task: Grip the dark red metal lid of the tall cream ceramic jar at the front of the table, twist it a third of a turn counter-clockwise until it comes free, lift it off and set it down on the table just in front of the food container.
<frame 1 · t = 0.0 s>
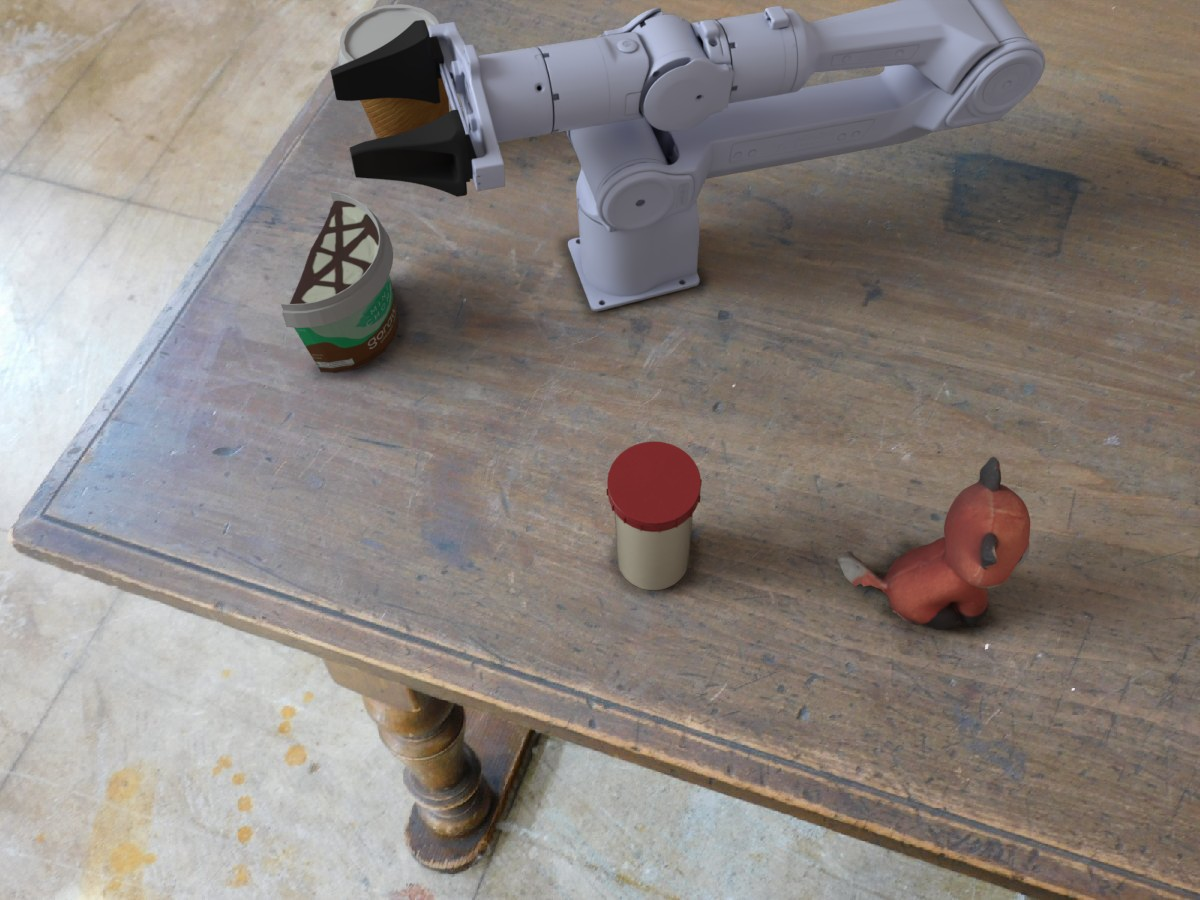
hand: (342, 123, 71), 22 cm above the table, tool horizontal, fingers open, 7 cm apart
jar: (653, 557, 78), on the table
food container: (374, 332, 89), on the table
stuffed fox: (913, 584, 76), on the table
lid: (654, 484, 68), point 11 cm above the table, screwed on, not yet turned
disposable coffee cup: (417, 147, 100), on the table
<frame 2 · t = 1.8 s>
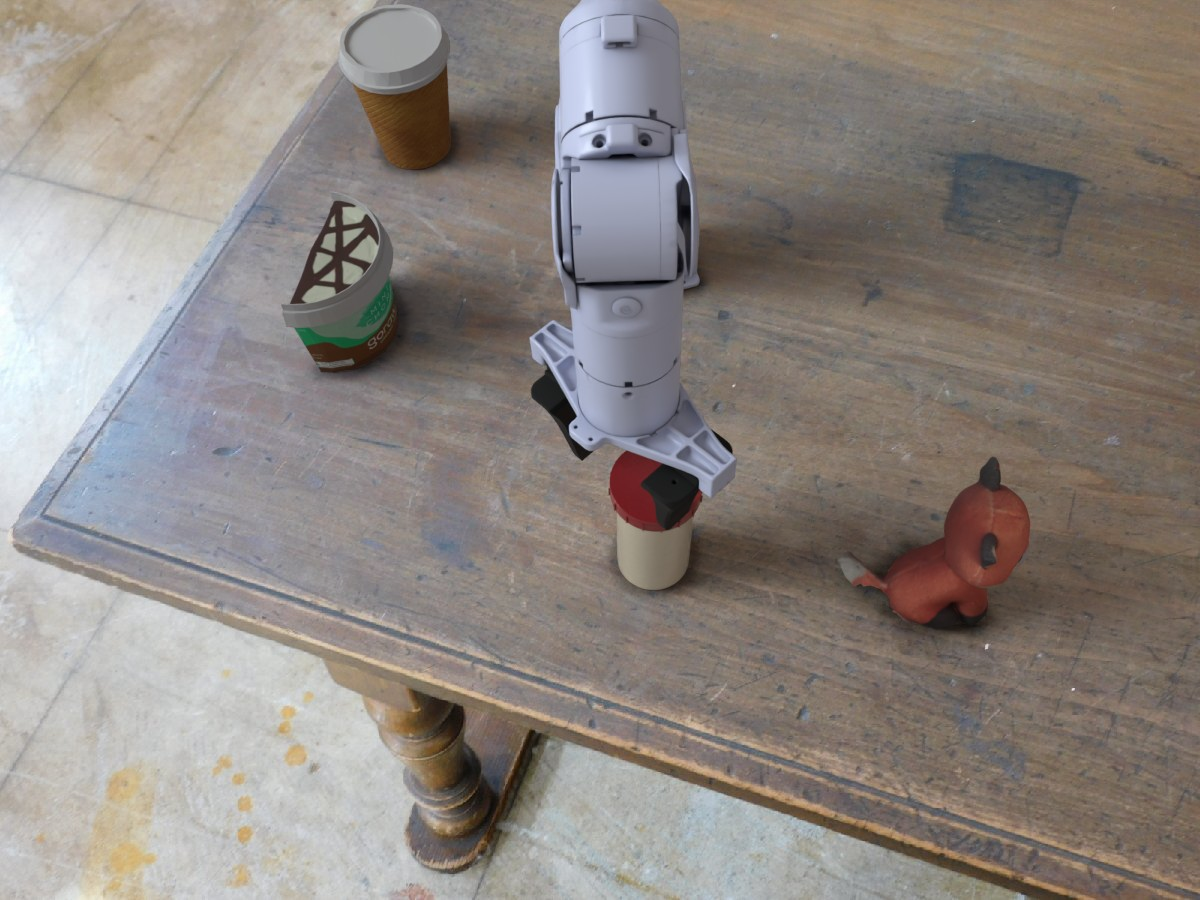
hand: (631, 482, 68), 11 cm above the table, tool pointing down, fingers open, 7 cm apart
lid: (656, 483, 68), point 11 cm above the table, screwed on, not yet turned, touching gripper
everything else where it was.
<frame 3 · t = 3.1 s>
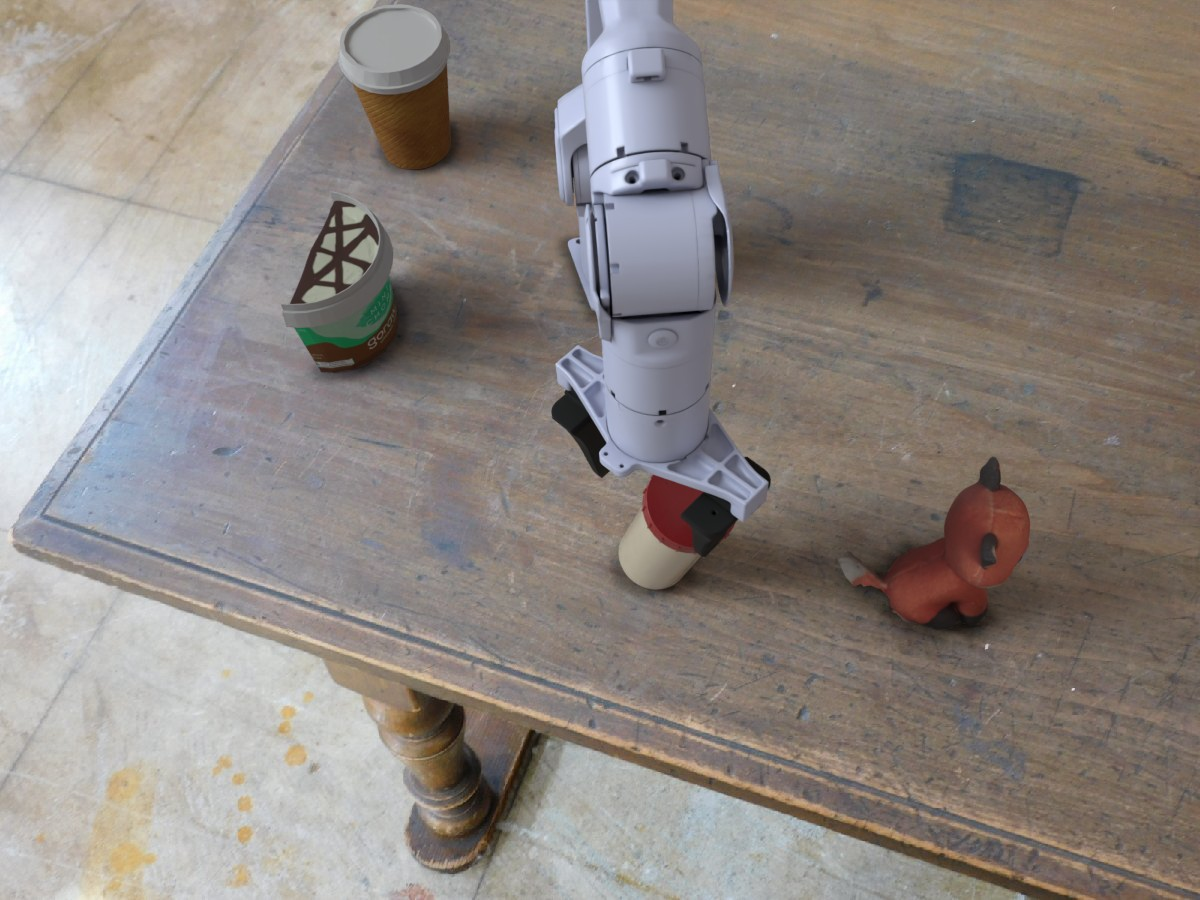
hand: (657, 503, 68), 10 cm above the table, tool pointing down, fingers open, 7 cm apart
jar: (653, 554, 77), point 1 cm above the table, tilted 14°, touching gripper
lid: (691, 503, 67), point 11 cm above the table, tilted 15°, screwed on, not yet turned, touching gripper
everything else where it was.
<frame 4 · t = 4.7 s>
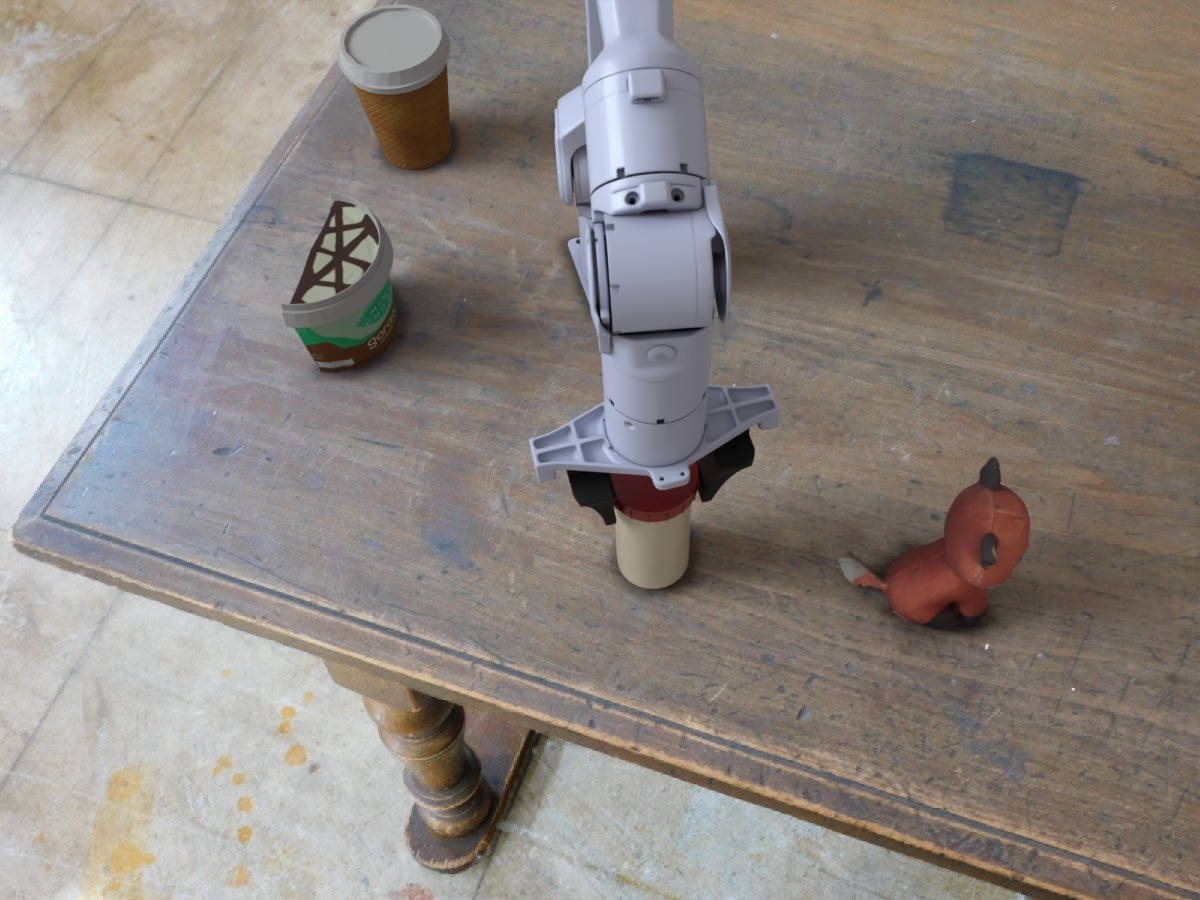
hand: (654, 500, 70), 9 cm above the table, tool pointing down, fingers closed on lid, 6 cm apart
jar: (652, 556, 78), on the table
lid: (651, 475, 68), point 11 cm above the table, turned 57° so far, risen 0.2 cm, still on its thread, touching gripper
everything else where it was.
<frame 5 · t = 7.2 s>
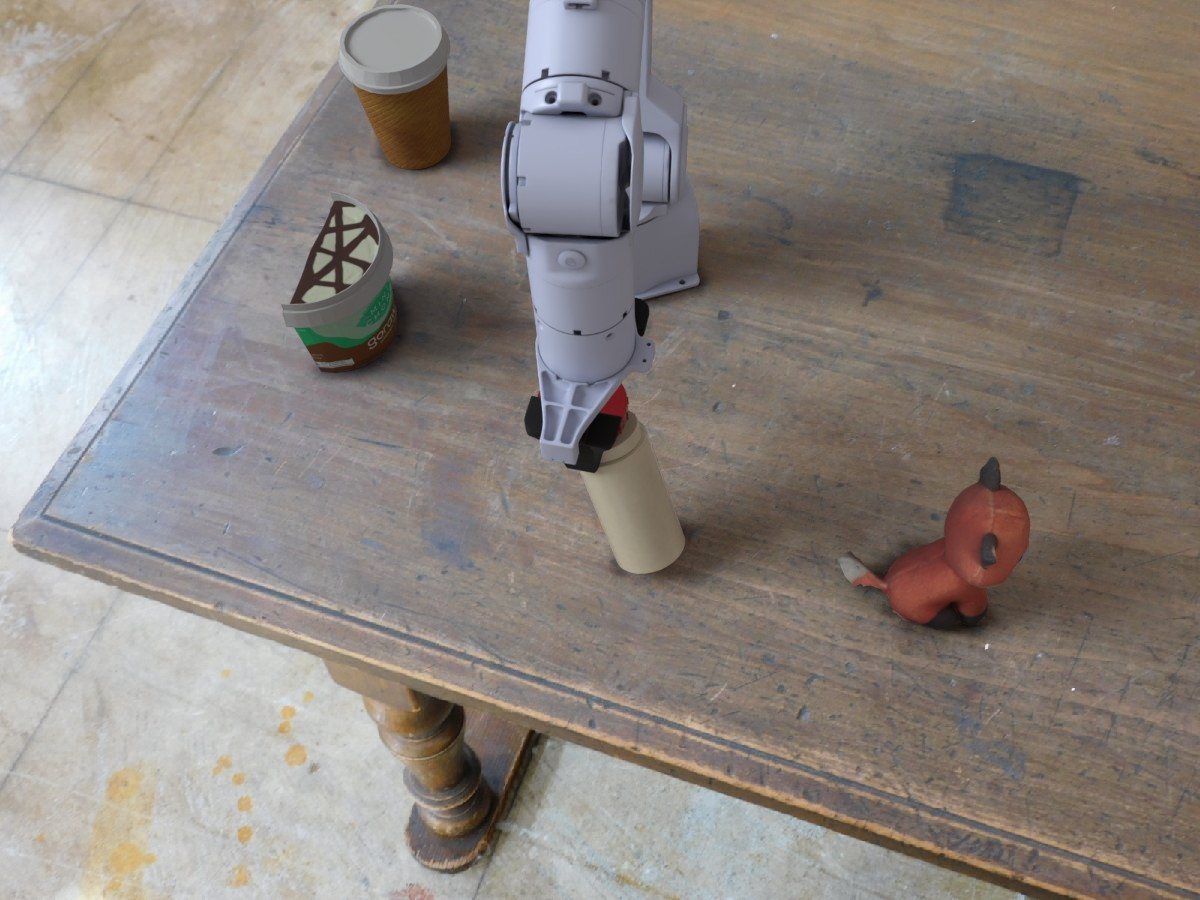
hand: (593, 425, 71), 11 cm above the table, tool pointing down, fingers closed on lid, 6 cm apart
jar: (650, 547, 77), point 1 cm above the table, tilted 27°, touching gripper
lid: (581, 405, 70), point 13 cm above the table, off its thread, touching gripper
everything else where it was.
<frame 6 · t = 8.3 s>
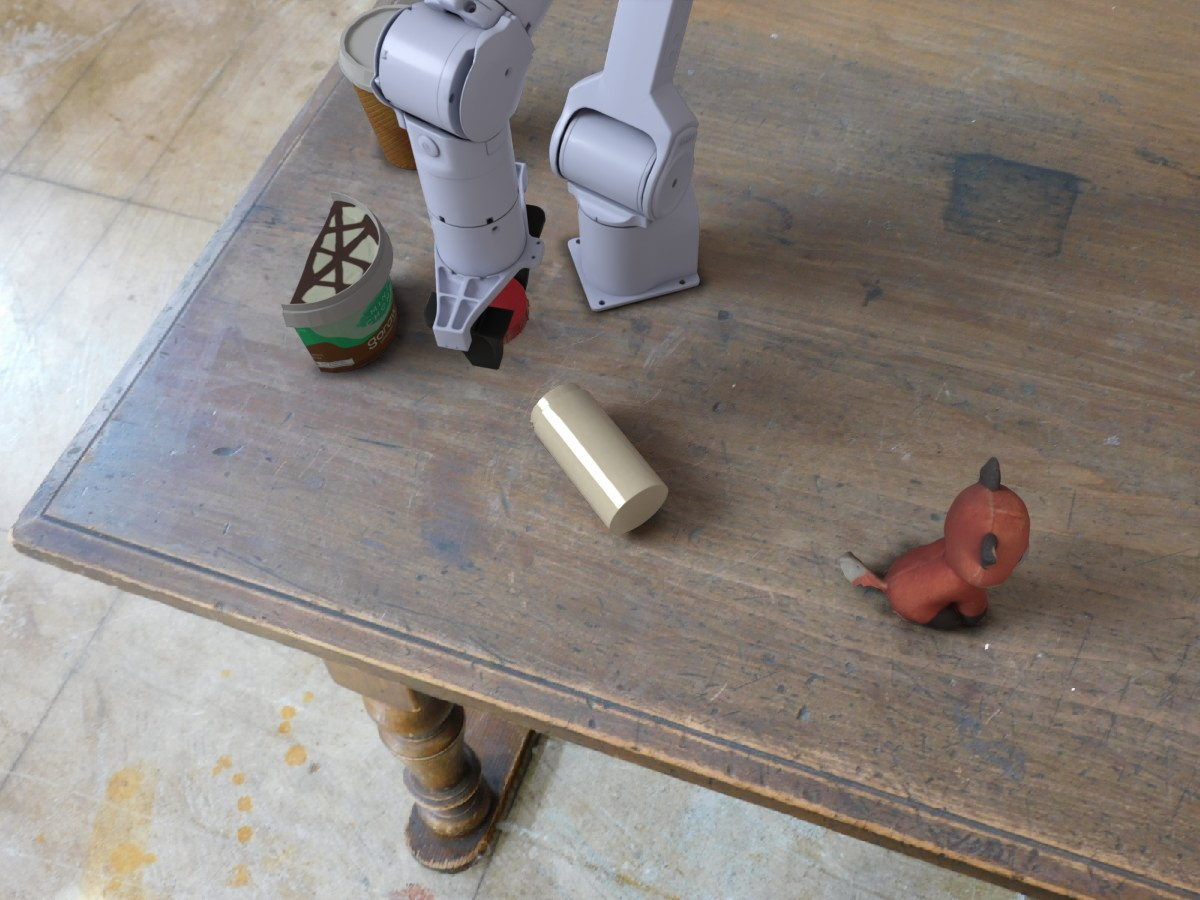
hand: (498, 328, 77), 10 cm above the table, tool pointing down, fingers closed on lid, 6 cm apart
jar: (639, 509, 77), point 3 cm above the table, tilted 90°
lid: (485, 307, 75), point 12 cm above the table, off its thread, touching gripper
everything else where it was.
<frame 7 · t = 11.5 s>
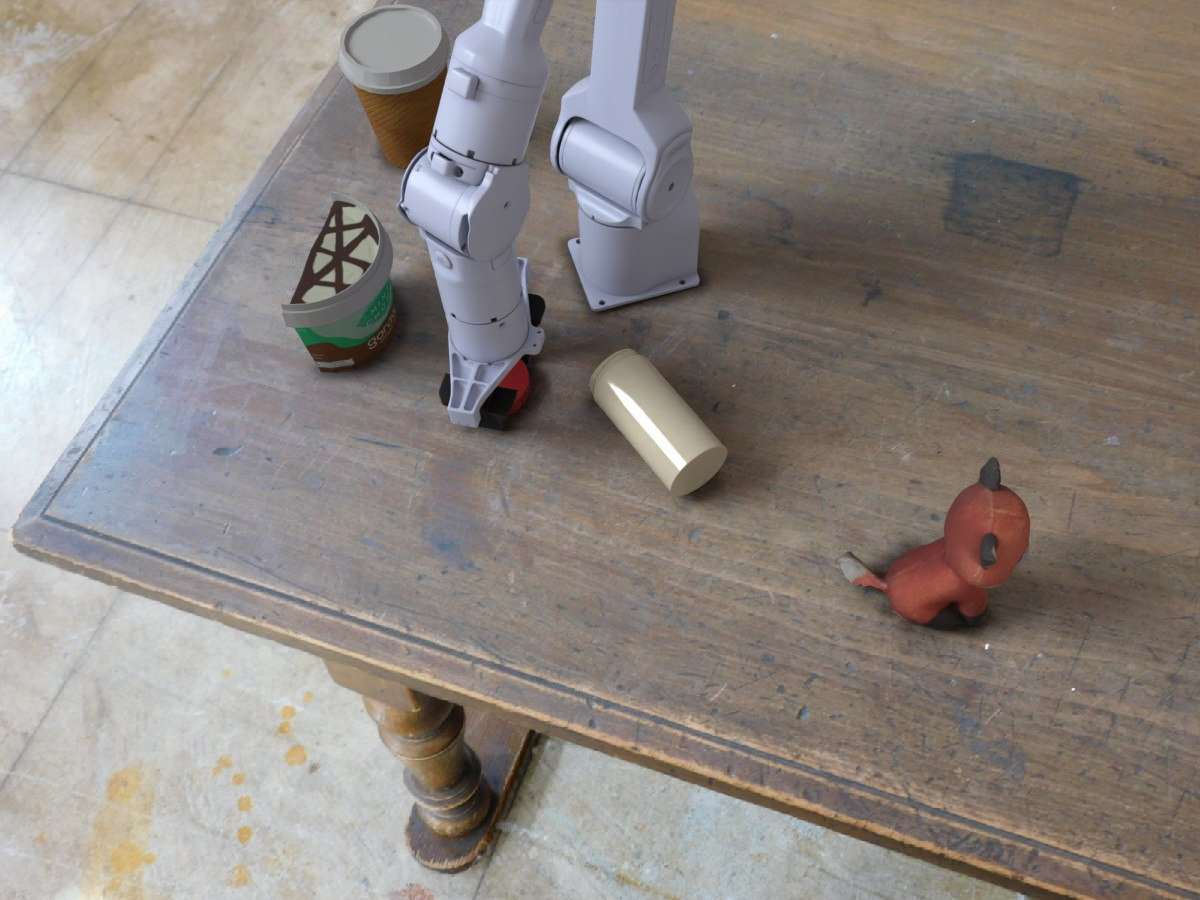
hand: (503, 399, 87), 0 cm above the table, tool pointing down, fingers closed on lid, 6 cm apart
jar: (699, 471, 78), point 3 cm above the table, tilted 90°
lid: (491, 381, 85), point 1 cm above the table, off its thread, touching gripper
everything else where it was.
when the fingers open (0 cm above the table, at t = 12.1 s): lid drops 1 cm, point 1 cm above the table.
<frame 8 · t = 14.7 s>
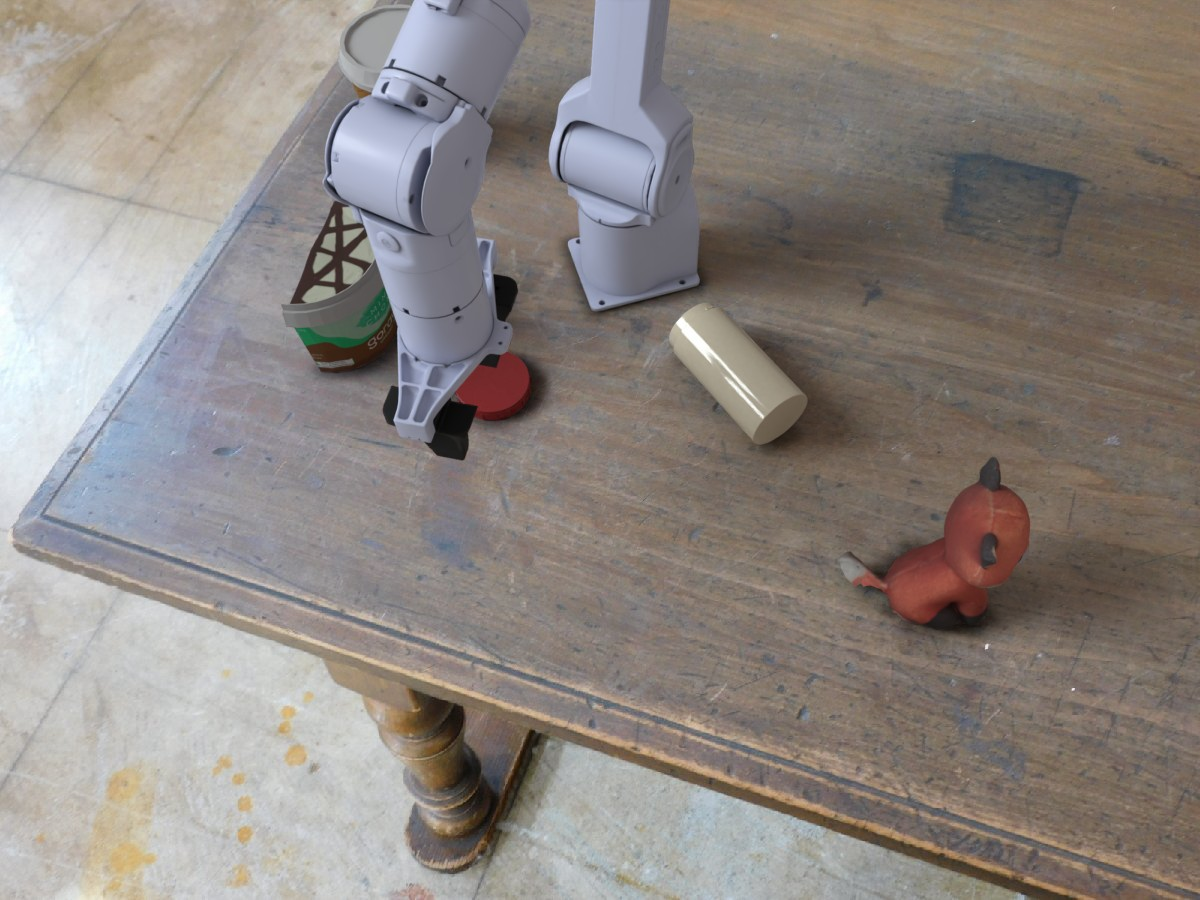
hand: (468, 406, 74), 9 cm above the table, tool pointing down, fingers open, 7 cm apart
jar: (780, 420, 80), point 3 cm above the table, tilted 90°
lid: (492, 382, 85), point 1 cm above the table, off its thread
everything else where it was.
at the end: lid turned 0.28 turns (no longer on its thread); lid inside the target area on the table beside the food container (0.9 cm from its centre), point 1.1 cm above the table; the gripper is holding nothing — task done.
